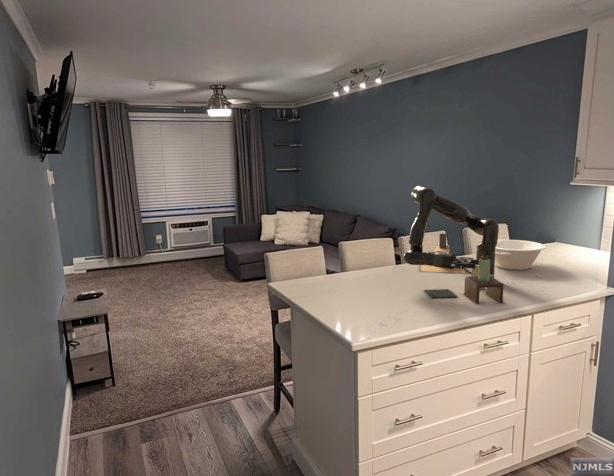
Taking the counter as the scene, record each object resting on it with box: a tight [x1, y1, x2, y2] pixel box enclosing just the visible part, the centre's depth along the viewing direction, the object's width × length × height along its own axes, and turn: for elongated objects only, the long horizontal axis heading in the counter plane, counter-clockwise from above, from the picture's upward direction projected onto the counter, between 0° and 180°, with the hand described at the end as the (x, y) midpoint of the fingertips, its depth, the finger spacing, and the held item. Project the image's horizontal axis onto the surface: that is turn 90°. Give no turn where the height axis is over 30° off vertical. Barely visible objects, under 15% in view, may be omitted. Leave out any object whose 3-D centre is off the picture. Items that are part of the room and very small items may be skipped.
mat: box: [424, 288, 458, 299], centre depth 208 cm, size 12×12×1 cm
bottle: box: [478, 254, 490, 282], centre depth 197 cm, size 5×5×12 cm
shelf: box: [463, 275, 505, 305], centre depth 199 cm, size 14×12×9 cm
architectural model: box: [420, 230, 467, 274], centre depth 265 cm, size 38×25×20 cm, turn 165°
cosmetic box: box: [470, 265, 486, 291], centre depth 215 cm, size 6×4×12 cm
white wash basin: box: [495, 239, 547, 271], centre depth 255 cm, size 44×34×14 cm
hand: (478, 264), depth 198 cm, fingers open, 8 cm apart
